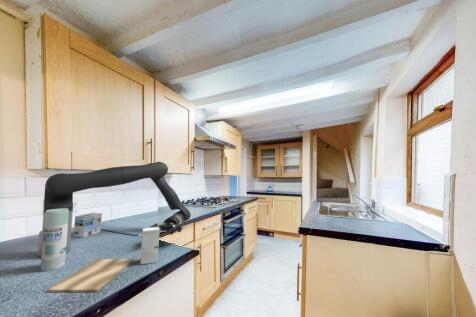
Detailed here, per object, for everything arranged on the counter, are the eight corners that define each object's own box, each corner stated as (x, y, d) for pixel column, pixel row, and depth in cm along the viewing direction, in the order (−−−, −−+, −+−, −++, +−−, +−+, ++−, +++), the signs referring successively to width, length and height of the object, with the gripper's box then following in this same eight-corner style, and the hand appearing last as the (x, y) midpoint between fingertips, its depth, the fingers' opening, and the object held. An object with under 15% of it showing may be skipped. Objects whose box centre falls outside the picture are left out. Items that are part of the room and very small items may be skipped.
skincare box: (140, 265, 72) (141, 231, 73) (140, 260, 76) (141, 228, 77) (158, 262, 75) (159, 229, 76) (157, 257, 79) (158, 226, 80)
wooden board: (46, 291, 55) (47, 289, 56) (96, 260, 75) (96, 259, 75) (97, 291, 56) (97, 289, 56) (133, 260, 76) (133, 259, 76)
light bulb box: (83, 238, 102) (84, 216, 103) (72, 237, 103) (74, 216, 104) (101, 232, 113) (102, 212, 113) (91, 231, 114) (92, 212, 115)
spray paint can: (68, 261, 74) (72, 207, 76) (59, 269, 68) (64, 210, 70) (46, 264, 72) (50, 208, 74) (35, 272, 66) (40, 212, 68)
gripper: (159, 216, 104) (145, 223, 88) (186, 215, 104) (177, 223, 88) (159, 230, 103) (144, 241, 87) (186, 230, 103) (177, 241, 87)
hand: (161, 232), depth 87 cm, fingers open, 8 cm apart
